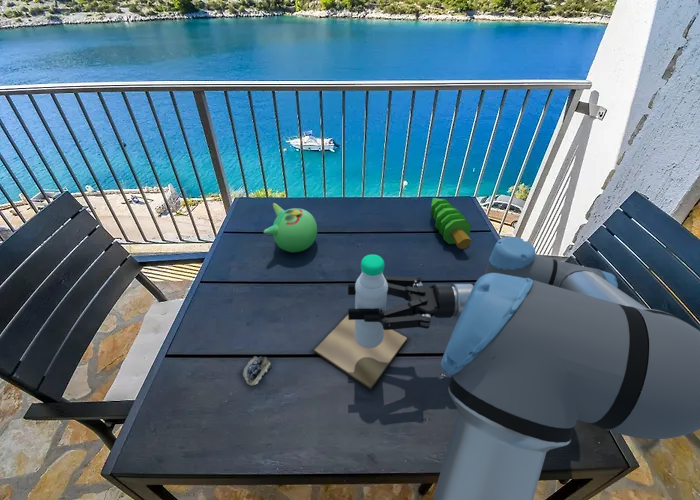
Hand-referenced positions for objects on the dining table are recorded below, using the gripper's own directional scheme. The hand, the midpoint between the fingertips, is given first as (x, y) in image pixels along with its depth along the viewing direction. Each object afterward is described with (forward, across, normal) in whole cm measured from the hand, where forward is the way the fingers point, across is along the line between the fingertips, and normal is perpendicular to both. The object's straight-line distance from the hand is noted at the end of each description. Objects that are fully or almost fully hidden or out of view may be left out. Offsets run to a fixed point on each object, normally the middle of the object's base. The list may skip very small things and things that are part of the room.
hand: (348, 301), depth 77 cm
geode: (+23, -3, -22) cm, 32 cm away
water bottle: (-5, 0, -13) cm, 14 cm away
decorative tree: (-39, +57, -22) cm, 73 cm away
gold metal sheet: (-4, +4, -22) cm, 23 cm away
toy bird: (+19, +49, -22) cm, 57 cm away
